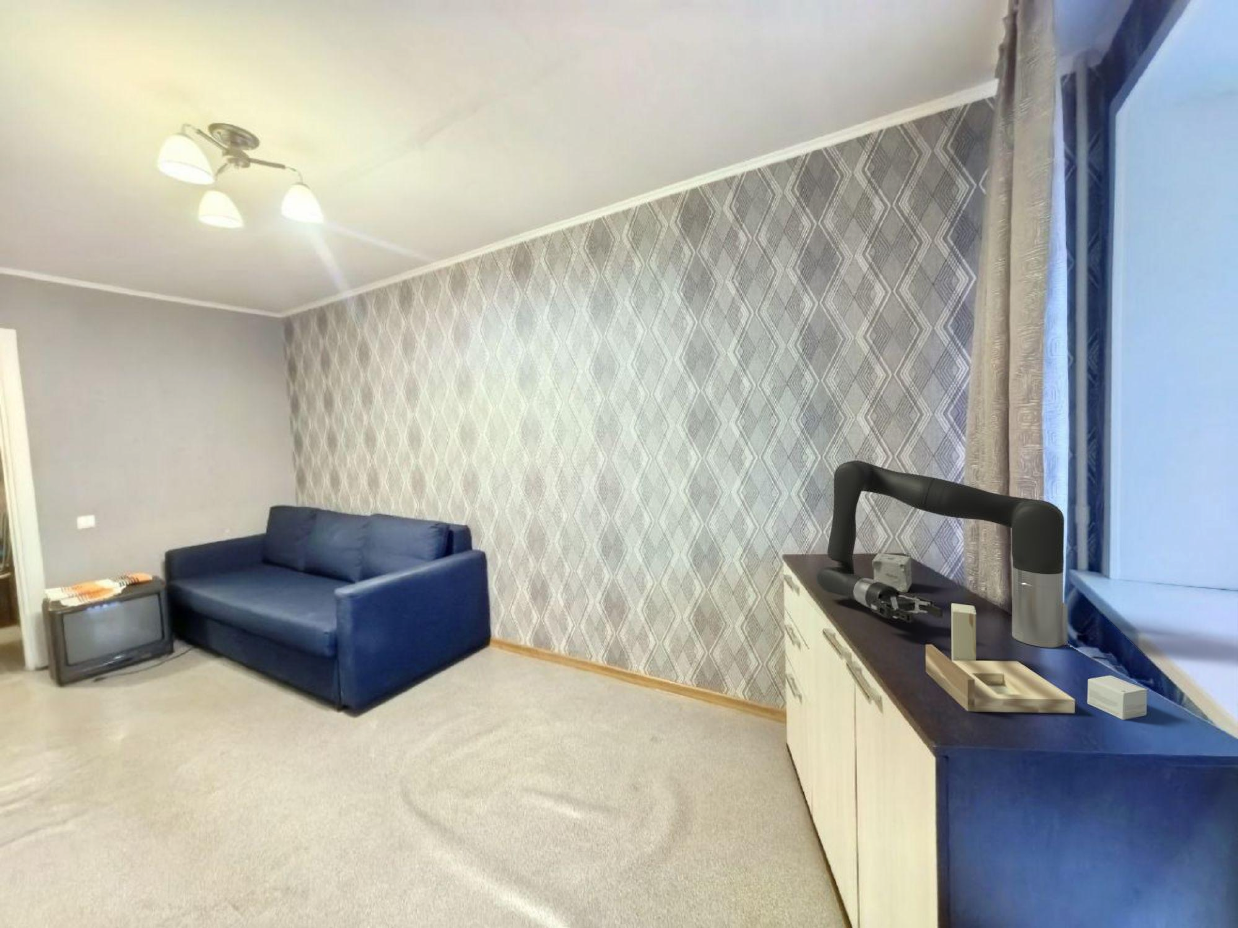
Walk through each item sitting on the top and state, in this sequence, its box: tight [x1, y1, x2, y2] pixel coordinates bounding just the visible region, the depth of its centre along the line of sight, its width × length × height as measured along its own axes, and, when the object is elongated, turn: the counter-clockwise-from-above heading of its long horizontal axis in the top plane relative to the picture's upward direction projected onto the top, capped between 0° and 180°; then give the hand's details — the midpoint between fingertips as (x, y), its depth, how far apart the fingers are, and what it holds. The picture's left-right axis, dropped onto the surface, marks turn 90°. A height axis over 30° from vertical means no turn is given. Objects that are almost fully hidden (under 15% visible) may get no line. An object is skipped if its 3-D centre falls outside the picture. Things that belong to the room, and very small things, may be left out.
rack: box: [925, 644, 1076, 714], centre depth 97 cm, size 18×15×6 cm
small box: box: [1086, 675, 1148, 721], centre depth 90 cm, size 6×6×5 cm
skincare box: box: [950, 603, 977, 661], centre depth 109 cm, size 6×4×12 cm
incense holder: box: [871, 552, 913, 593], centre depth 160 cm, size 10×8×10 cm
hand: (926, 616), depth 118 cm, fingers open, 8 cm apart
